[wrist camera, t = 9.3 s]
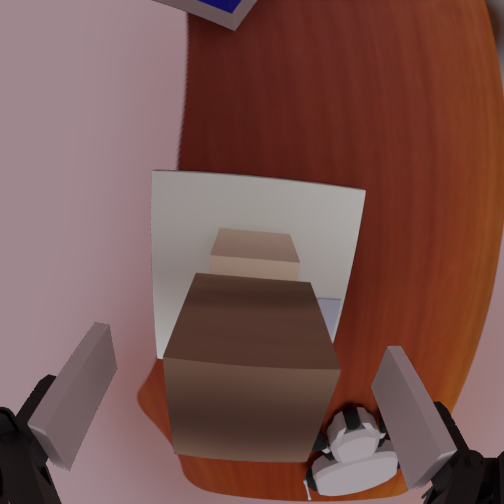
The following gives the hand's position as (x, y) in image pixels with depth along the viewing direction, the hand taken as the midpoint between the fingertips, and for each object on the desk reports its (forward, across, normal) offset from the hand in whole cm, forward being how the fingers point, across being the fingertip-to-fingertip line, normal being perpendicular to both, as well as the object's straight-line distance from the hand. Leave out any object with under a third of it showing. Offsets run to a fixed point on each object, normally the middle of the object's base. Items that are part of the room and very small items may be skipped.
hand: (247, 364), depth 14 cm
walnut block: (+4, 0, 0) cm, 4 cm away
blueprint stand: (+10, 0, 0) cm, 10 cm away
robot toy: (+10, +13, -20) cm, 25 cm away
